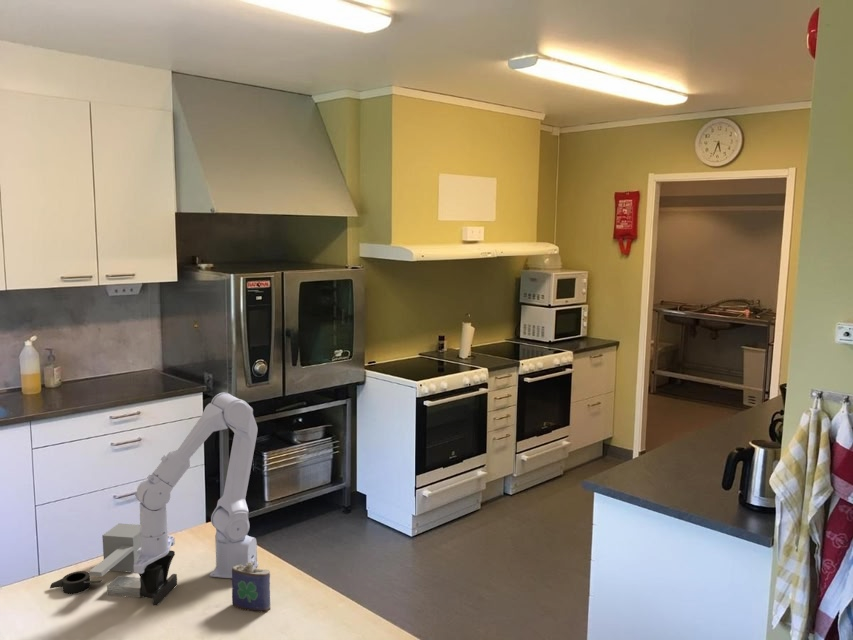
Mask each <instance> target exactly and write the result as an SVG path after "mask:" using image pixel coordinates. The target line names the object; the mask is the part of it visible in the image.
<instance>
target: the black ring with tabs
mask: <svg viewBox="0 0 853 640" xmlns="http://www.w3.org/2000/svg"><path fill="white" fill-rule="evenodd" d="M102 581H103V579H98V580H97V579H96V580H94V579H93V580H91V576H89V571H84V570H78V571H73V572H71V573H68V574H65V575H64V577H62V578H60V579H58V580H56V581H54V582H52V583H51V584H50V586H49V589H54V588H55V589H57V588H62V592H63V594H66V595H77V594H81V593H83V592H86V591H88V590H89V589H90V587H91V584H98V583H101V582H102Z"/></svg>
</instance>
